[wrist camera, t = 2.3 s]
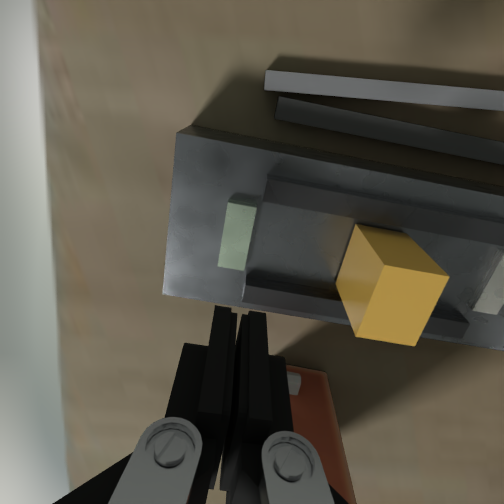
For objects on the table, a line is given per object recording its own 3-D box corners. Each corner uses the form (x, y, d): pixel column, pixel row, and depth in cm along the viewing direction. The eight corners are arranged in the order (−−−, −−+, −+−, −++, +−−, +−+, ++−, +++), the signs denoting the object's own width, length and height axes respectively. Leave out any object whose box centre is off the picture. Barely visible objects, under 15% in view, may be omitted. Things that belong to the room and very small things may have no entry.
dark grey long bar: (528, 147, 22) (543, 150, 20) (519, 166, 22) (532, 170, 21) (278, 95, 21) (279, 96, 19) (274, 117, 21) (275, 118, 20)
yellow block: (406, 233, 20) (449, 276, 15) (382, 291, 21) (414, 346, 17) (355, 223, 20) (384, 265, 15) (335, 283, 21) (355, 336, 17)
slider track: (550, 195, 23) (625, 224, 18) (480, 317, 27) (526, 365, 22) (190, 125, 21) (171, 135, 17) (176, 264, 26) (157, 304, 21)
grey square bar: (503, 91, 20) (514, 92, 19) (496, 110, 21) (507, 111, 20) (265, 70, 20) (265, 70, 19) (264, 89, 20) (264, 89, 20)
